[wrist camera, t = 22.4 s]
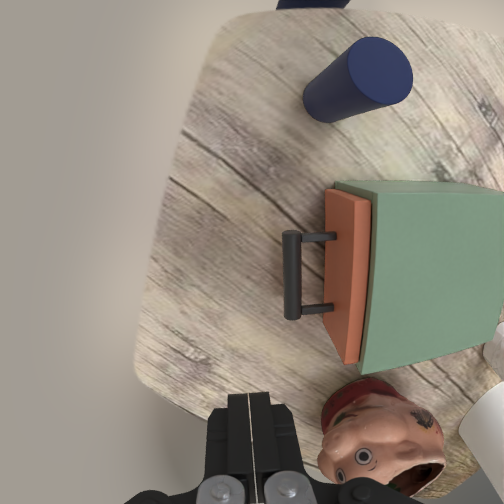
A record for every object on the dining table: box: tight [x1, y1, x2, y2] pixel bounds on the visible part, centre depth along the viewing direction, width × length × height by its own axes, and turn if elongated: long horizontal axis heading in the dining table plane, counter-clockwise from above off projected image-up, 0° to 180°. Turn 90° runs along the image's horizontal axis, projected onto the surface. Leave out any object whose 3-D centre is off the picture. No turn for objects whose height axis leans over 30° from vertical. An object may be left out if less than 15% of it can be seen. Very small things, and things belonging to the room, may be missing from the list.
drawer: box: [282, 189, 373, 365], centre depth 24 cm, size 18×12×7 cm
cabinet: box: [335, 181, 504, 375], centre depth 24 cm, size 15×14×9 cm
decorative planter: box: [317, 378, 446, 497], centre depth 27 cm, size 20×12×14 cm, turn 61°
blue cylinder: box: [303, 37, 413, 123], centre depth 18 cm, size 4×4×11 cm
